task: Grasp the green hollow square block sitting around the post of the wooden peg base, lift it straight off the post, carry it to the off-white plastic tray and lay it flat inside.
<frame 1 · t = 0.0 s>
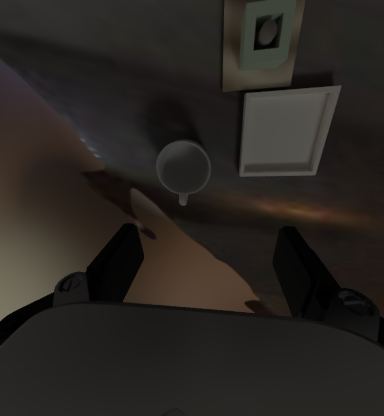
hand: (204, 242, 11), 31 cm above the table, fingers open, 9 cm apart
tray: (279, 136, 35), on the table
teacup: (187, 167, 41), on the table
wooden peg base: (258, 47, 29), on the table
green hollow square block: (259, 45, 28), point 1 cm above the table, touching wooden peg base
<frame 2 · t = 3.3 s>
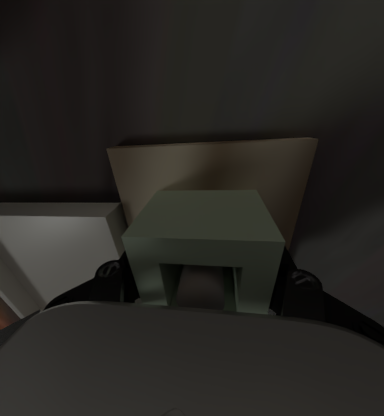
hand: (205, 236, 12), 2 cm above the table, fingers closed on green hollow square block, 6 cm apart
tray: (71, 268, 18), on the table
wooden peg base: (206, 223, 13), on the table
green hollow square block: (205, 230, 12), point 1 cm above the table, touching gripper, wooden peg base
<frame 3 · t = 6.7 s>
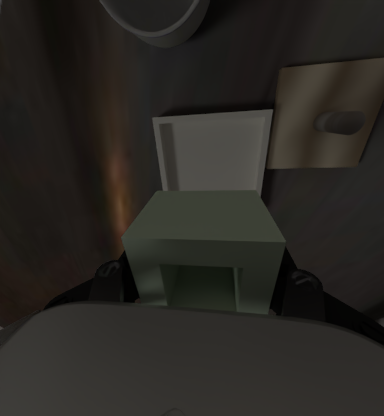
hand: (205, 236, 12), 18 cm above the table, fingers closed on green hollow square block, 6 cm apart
tray: (210, 168, 28), on the table
wooden peg base: (318, 121, 23), on the table
green hollow square block: (205, 231, 12), point 17 cm above the table, touching gripper
when the fingers open (2 cm above the table, at t = 10.2 s): green hollow square block stays where it is, resting on tray.
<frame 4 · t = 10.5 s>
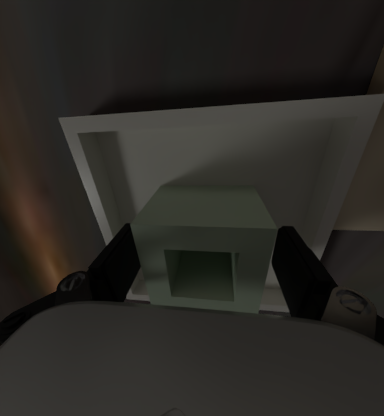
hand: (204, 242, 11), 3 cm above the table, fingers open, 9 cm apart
tray: (206, 220, 14), on the table
green hollow square block: (205, 224, 13), point 1 cm above the table, touching tray
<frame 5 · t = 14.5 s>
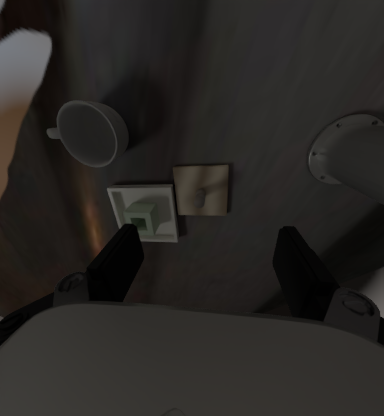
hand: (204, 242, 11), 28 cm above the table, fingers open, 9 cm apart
tray: (147, 212, 45), on the table
teacup: (104, 131, 37), on the table
wooden peg base: (201, 191, 40), on the table
green hollow square block: (146, 213, 44), point 1 cm above the table, touching tray
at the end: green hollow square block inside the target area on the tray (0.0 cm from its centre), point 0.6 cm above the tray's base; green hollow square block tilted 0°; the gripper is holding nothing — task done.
